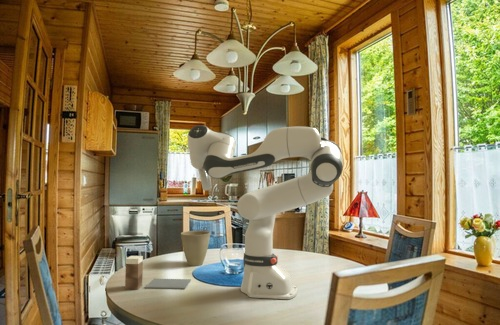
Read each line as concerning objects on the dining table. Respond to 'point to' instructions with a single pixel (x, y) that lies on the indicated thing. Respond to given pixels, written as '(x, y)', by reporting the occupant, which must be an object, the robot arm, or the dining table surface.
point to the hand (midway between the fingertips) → (204, 178)
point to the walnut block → (133, 272)
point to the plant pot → (195, 246)
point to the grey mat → (168, 284)
